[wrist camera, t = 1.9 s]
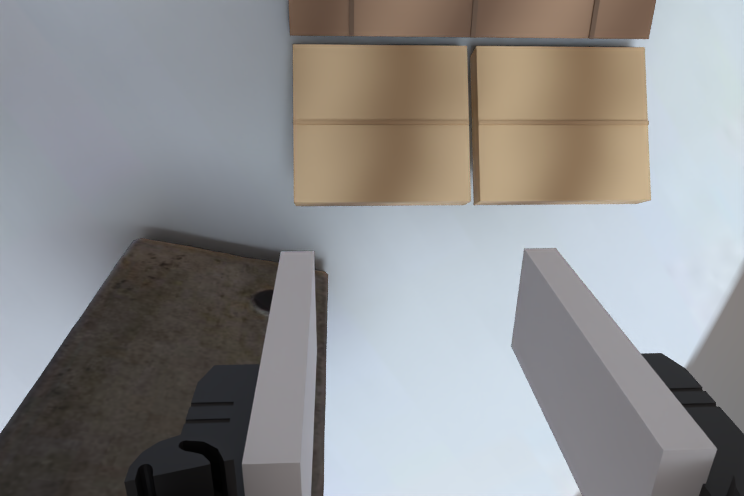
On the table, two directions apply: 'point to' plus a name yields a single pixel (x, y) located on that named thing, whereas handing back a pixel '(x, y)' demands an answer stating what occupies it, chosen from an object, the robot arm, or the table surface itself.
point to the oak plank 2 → (559, 125)
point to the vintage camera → (145, 368)
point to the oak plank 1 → (380, 125)
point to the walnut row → (473, 18)
